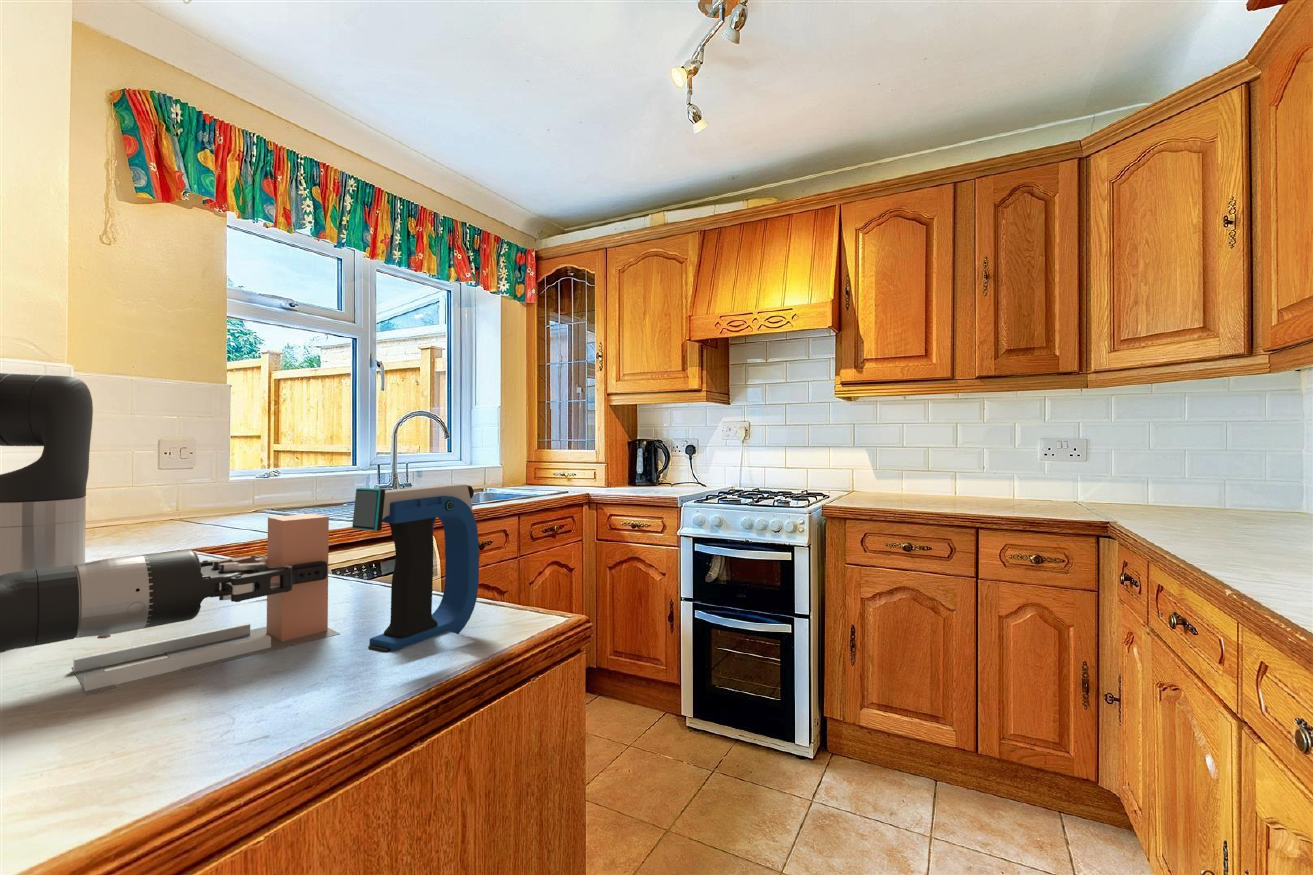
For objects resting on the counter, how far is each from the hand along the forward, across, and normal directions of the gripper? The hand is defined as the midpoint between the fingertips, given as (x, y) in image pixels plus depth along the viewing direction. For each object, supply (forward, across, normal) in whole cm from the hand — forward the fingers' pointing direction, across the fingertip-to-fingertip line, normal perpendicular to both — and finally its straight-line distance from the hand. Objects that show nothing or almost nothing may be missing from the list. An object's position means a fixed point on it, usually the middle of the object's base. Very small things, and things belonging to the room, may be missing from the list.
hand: (314, 565), depth 72 cm
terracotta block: (-2, 0, +8) cm, 8 cm away
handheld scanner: (+7, -13, +9) cm, 17 cm away
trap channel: (-9, 0, +9) cm, 13 cm away
